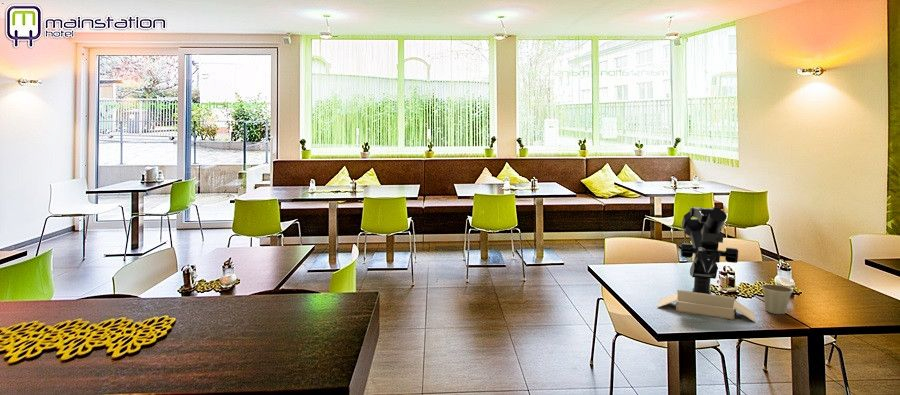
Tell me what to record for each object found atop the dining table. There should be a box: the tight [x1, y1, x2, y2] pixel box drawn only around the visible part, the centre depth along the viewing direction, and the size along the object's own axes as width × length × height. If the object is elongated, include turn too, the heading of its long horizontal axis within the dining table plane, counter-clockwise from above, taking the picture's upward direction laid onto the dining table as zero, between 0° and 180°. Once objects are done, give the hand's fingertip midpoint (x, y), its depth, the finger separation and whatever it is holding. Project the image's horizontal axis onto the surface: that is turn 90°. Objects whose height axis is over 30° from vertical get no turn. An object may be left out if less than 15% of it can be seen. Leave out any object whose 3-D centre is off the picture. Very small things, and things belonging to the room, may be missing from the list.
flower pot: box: [761, 284, 794, 315], centre depth 184 cm, size 9×9×9 cm
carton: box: [657, 292, 756, 323], centre depth 186 cm, size 16×30×4 cm, turn 62°
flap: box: [676, 289, 735, 309], centre depth 176 cm, size 1×17×7 cm
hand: (706, 272), depth 188 cm, fingers closed
